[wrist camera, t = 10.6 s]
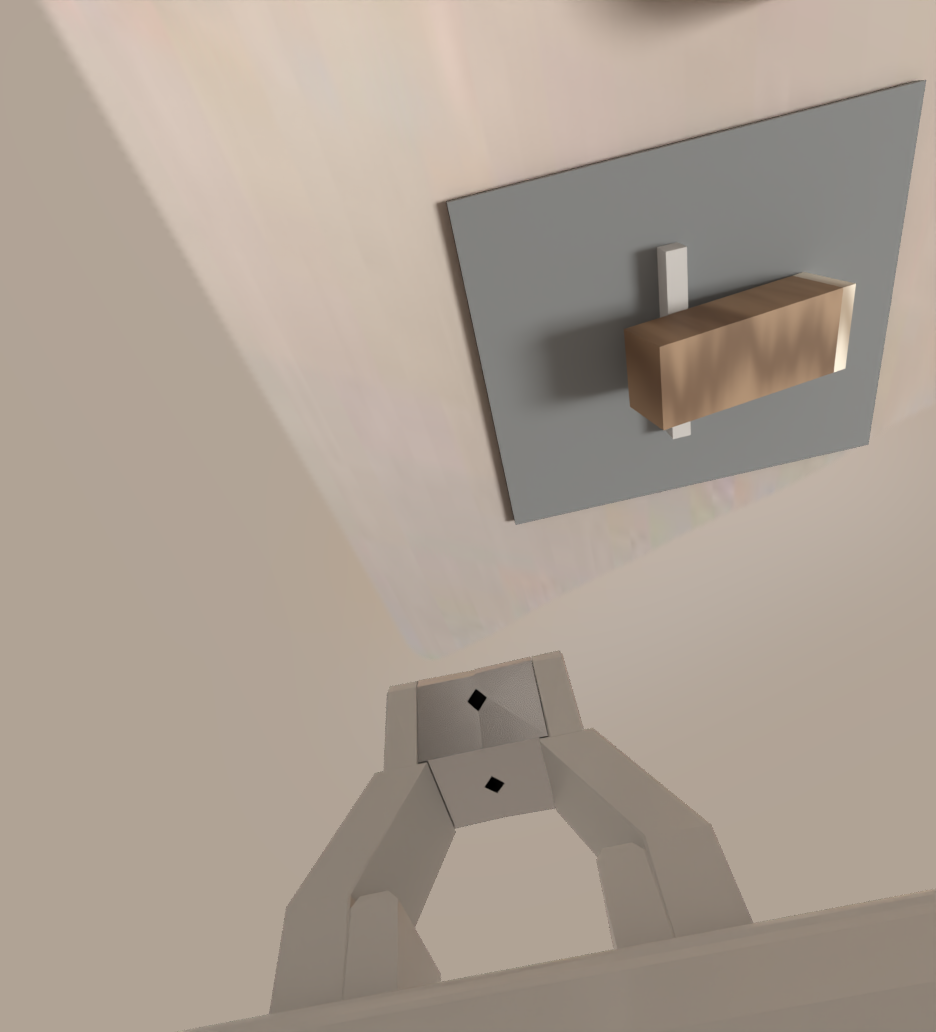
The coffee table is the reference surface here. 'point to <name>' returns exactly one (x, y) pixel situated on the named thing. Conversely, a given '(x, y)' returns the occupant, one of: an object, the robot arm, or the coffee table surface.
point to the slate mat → (680, 294)
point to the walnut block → (738, 348)
